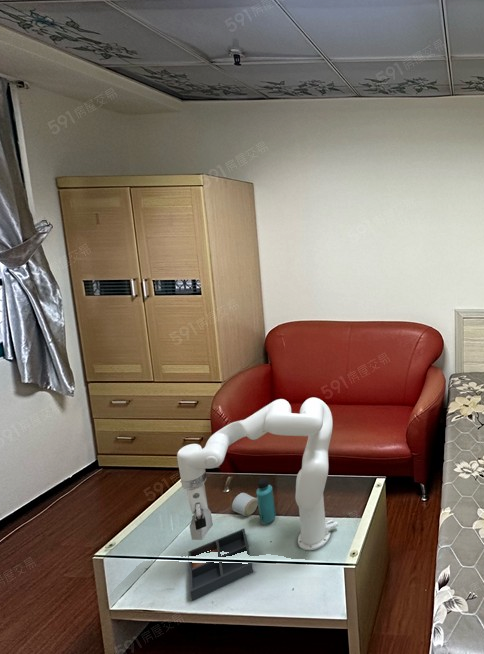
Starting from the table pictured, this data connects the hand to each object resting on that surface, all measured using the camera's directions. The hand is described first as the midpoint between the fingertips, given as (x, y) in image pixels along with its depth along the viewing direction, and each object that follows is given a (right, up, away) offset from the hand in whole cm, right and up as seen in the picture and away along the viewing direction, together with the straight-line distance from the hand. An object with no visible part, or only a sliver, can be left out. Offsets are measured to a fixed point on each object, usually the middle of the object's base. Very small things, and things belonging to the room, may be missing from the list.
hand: (200, 519), depth 150 cm
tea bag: (0, -5, +1) cm, 6 cm away
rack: (+5, -20, +4) cm, 21 cm away
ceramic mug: (+2, -14, +31) cm, 34 cm away
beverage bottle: (+14, -15, +25) cm, 32 cm away
